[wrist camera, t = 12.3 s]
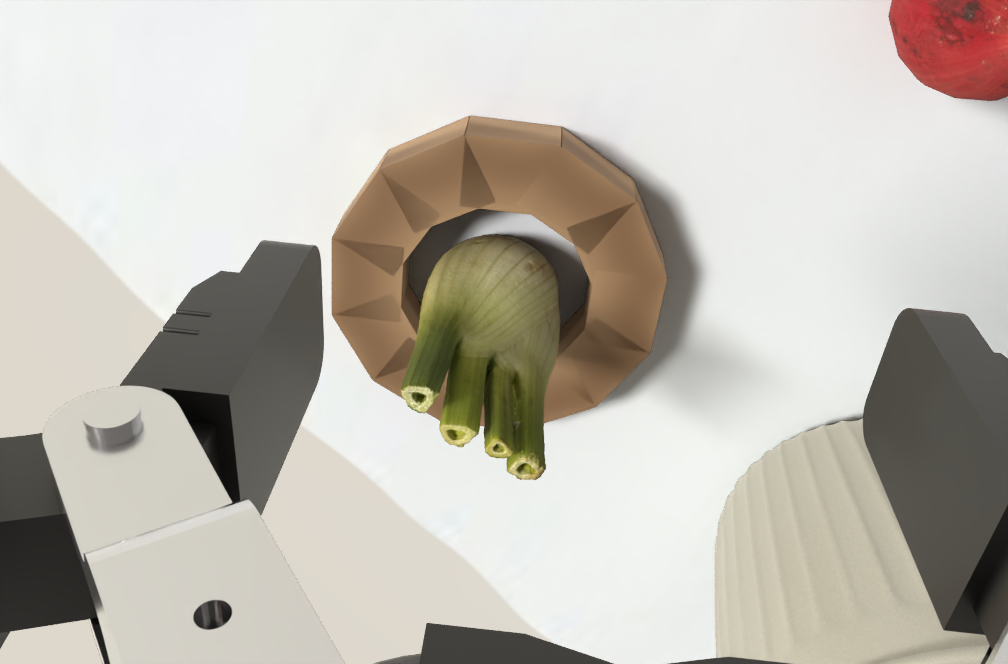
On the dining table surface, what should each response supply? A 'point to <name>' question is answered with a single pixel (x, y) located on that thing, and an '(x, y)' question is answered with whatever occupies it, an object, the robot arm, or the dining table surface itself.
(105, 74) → the dining table surface
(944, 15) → the onion
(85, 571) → the robot arm
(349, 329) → the walnut ring
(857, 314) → the dining table surface
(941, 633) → the canister
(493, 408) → the fennel bulb
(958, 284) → the dining table surface
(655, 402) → the dining table surface
